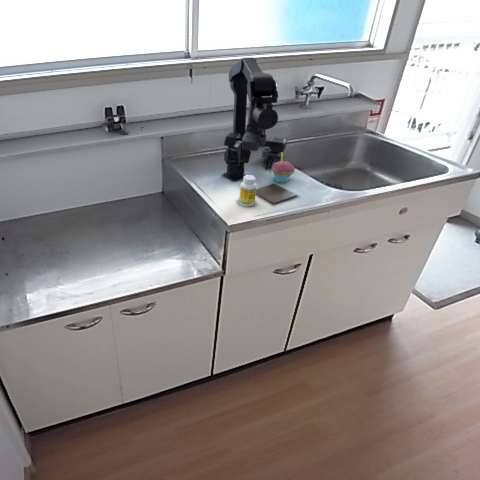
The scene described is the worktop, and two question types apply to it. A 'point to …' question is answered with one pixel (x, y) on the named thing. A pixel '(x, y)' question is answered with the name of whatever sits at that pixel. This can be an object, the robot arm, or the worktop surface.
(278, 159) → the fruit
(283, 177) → the cupcake
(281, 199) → the plate
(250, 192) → the supplement bottle
